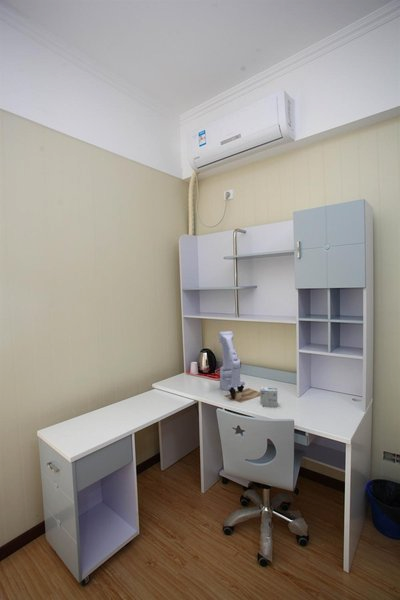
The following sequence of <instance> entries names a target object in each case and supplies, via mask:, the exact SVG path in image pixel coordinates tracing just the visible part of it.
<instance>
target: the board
mask: <svg viewBox="0 0 400 600" xmlns="http://www.w3.org/2000/svg"><path fill="white" fill-rule="evenodd" d="M224 397H226V398H228V399H230V400H232V401H235V402H238V403H239V404H241V403H244V402H247V401H250V400H253V399H256V398H258V397H259V398H260V391H258V390H254V389H252V388H249V387H248V388H244V389H243V391H242V399H240V400H236V399H233V398H232V397H231V394H230V393H229V394H226V395H224Z"/></svg>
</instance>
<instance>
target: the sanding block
mask: <svg viewBox="0 0 400 600" xmlns="http://www.w3.org/2000/svg"><path fill="white" fill-rule="evenodd" d="M235 399H236V400H240V399H242V393H241V392H239V391H238V390H236V391H235Z"/></svg>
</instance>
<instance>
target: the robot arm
mask: <svg viewBox="0 0 400 600" xmlns="http://www.w3.org/2000/svg"><path fill="white" fill-rule="evenodd" d="M233 340H234V332H233V331H232V330H229V331H219V333H218V343H220V344H221V351H222V353H221V354H222V363H223V364H222V366H220V368H219V376H220V378H219V389H218V390H222V391H226V392H228V391H229V394H231V397H232V398H233V399H235V391H239V392H241V393H242V391H243V390H244V389H245V384H246V382H245V381H241V368H242V361H241V359H240V358H239V357H238V353H237V350H235V349H234V343H233ZM235 388H236V389H237V390H236V389H235Z"/></svg>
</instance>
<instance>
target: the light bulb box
mask: <svg viewBox="0 0 400 600" xmlns="http://www.w3.org/2000/svg"><path fill="white" fill-rule="evenodd" d="M259 392H260V396H259V399H260V400H259V401H260V405H261V407H269V408H277V407H278V388H277V387H270V386H267V387H266V386H260V390H259Z"/></svg>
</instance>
